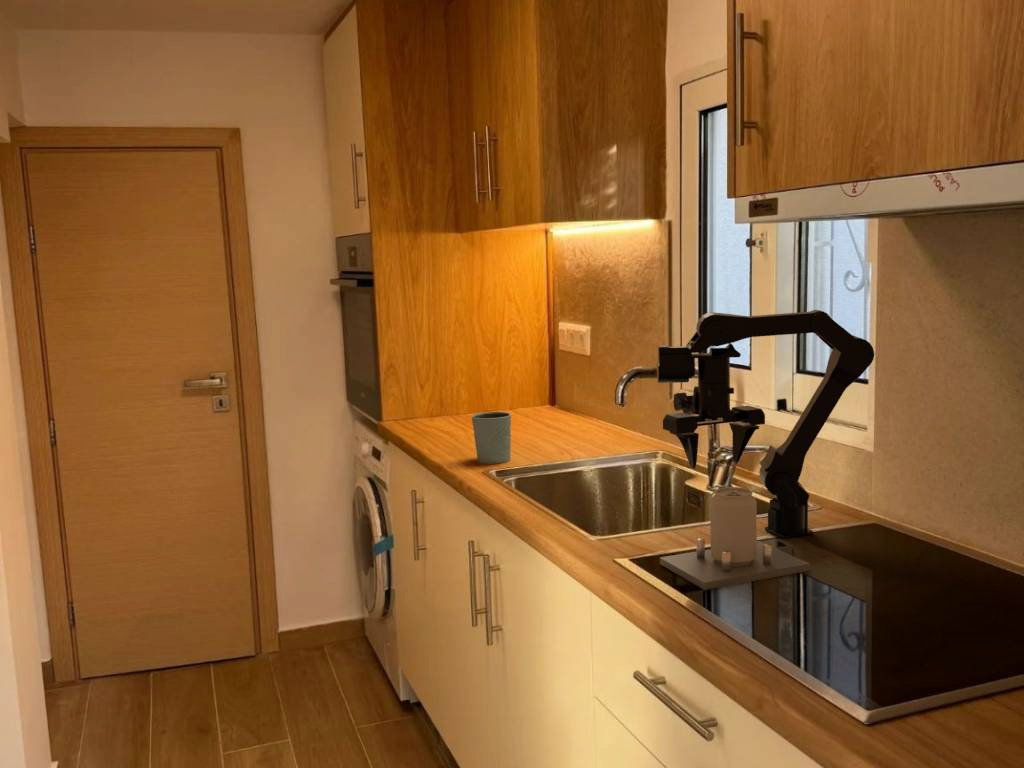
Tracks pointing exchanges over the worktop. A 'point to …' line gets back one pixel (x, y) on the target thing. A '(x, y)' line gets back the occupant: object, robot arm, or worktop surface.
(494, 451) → the grey-blue cup
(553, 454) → the worktop surface
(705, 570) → the pin tray
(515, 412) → the worktop surface
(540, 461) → the worktop surface
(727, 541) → the can
